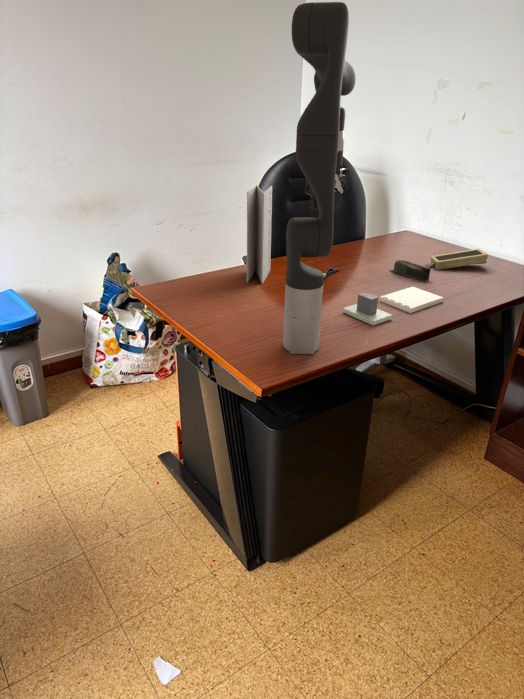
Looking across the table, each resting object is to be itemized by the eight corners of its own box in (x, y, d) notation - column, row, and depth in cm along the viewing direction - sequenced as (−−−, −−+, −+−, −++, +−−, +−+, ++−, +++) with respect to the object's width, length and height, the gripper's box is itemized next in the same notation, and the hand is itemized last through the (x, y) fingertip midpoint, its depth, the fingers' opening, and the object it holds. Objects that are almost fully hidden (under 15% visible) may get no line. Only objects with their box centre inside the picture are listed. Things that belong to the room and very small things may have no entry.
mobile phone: (432, 267, 183) (394, 257, 192) (427, 269, 181) (390, 258, 190) (429, 280, 186) (392, 270, 195) (425, 282, 184) (388, 271, 193)
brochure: (262, 283, 179) (264, 193, 165) (246, 282, 180) (246, 192, 166) (270, 270, 191) (272, 185, 178) (255, 269, 192) (256, 185, 179)
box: (488, 266, 195) (488, 253, 193) (428, 276, 196) (428, 263, 194) (478, 260, 203) (479, 247, 201) (421, 270, 203) (420, 257, 201)
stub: (361, 306, 162) (363, 286, 159) (391, 319, 153) (394, 298, 150) (342, 312, 157) (344, 292, 154) (372, 325, 149) (375, 304, 146)
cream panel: (412, 290, 175) (412, 286, 174) (442, 301, 167) (443, 297, 166) (379, 301, 166) (380, 296, 166) (410, 313, 158) (410, 308, 157)
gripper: (339, 145, 150) (334, 203, 157) (300, 148, 142) (297, 208, 150) (358, 148, 145) (352, 207, 152) (319, 151, 137) (315, 213, 144)
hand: (325, 208), depth 151 cm, fingers open, 8 cm apart
